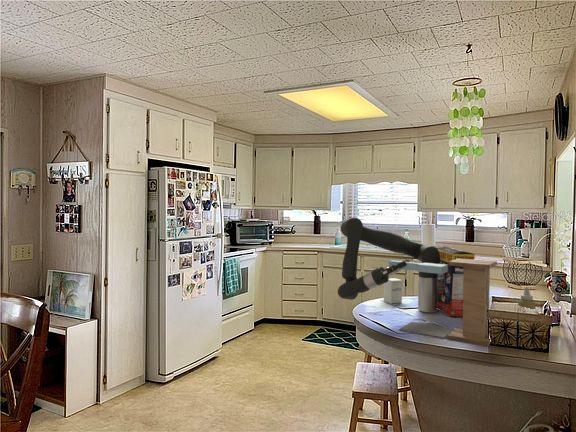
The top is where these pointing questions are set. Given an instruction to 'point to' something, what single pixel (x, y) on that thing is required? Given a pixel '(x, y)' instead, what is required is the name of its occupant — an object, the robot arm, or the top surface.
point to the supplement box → (393, 291)
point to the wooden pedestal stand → (474, 301)
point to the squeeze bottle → (527, 300)
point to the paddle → (423, 267)
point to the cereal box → (451, 282)
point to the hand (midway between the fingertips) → (407, 262)
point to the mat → (427, 329)
